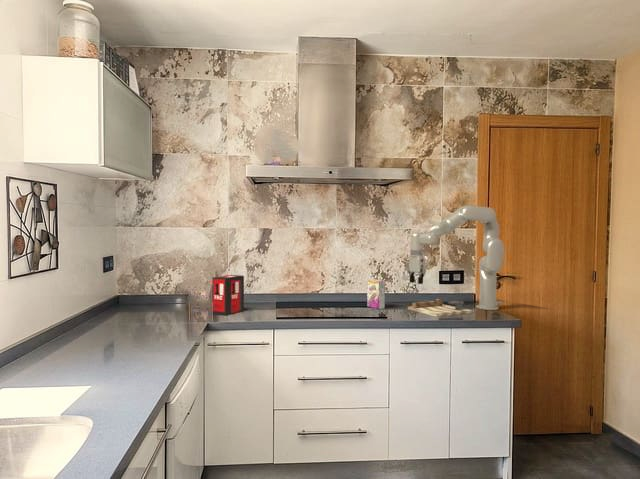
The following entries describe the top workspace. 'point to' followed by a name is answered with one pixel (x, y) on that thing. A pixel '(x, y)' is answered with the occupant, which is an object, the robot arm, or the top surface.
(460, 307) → the block
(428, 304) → the walnut link
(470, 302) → the top surface
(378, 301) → the candy bar box
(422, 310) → the birch board
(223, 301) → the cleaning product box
